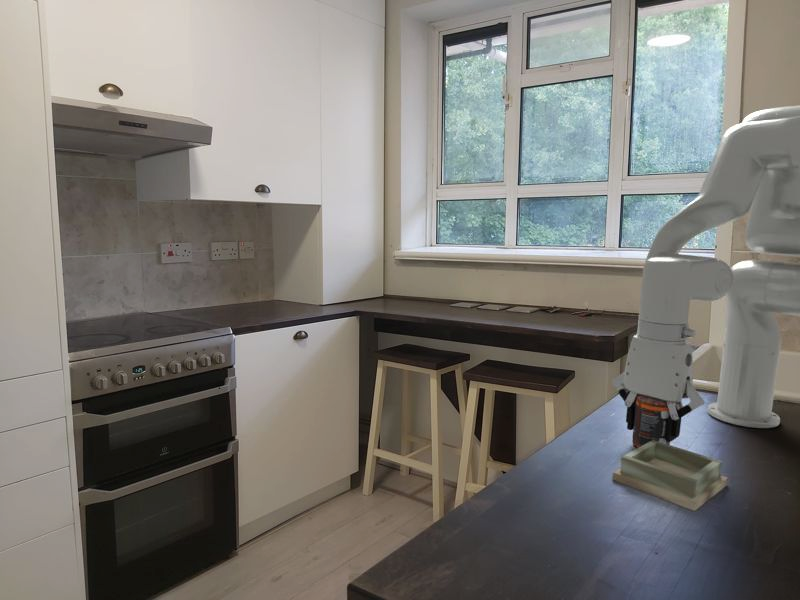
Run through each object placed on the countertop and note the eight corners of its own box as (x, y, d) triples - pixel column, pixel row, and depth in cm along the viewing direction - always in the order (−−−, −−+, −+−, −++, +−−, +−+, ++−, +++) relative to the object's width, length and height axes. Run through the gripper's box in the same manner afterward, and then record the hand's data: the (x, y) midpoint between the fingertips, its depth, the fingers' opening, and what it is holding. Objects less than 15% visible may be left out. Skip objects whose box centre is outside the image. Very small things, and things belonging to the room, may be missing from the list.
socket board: (648, 458, 96) (650, 437, 96) (726, 485, 88) (729, 461, 87) (612, 479, 88) (614, 456, 88) (694, 511, 80) (697, 485, 79)
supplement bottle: (672, 456, 98) (680, 391, 96) (635, 452, 99) (641, 387, 97) (664, 442, 104) (671, 380, 102) (628, 438, 105) (634, 377, 103)
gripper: (725, 337, 94) (712, 444, 97) (623, 320, 107) (615, 415, 110) (707, 344, 89) (694, 455, 92) (602, 325, 102) (594, 424, 105)
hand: (651, 432), depth 101 cm, fingers closed on supplement bottle, 6 cm apart
